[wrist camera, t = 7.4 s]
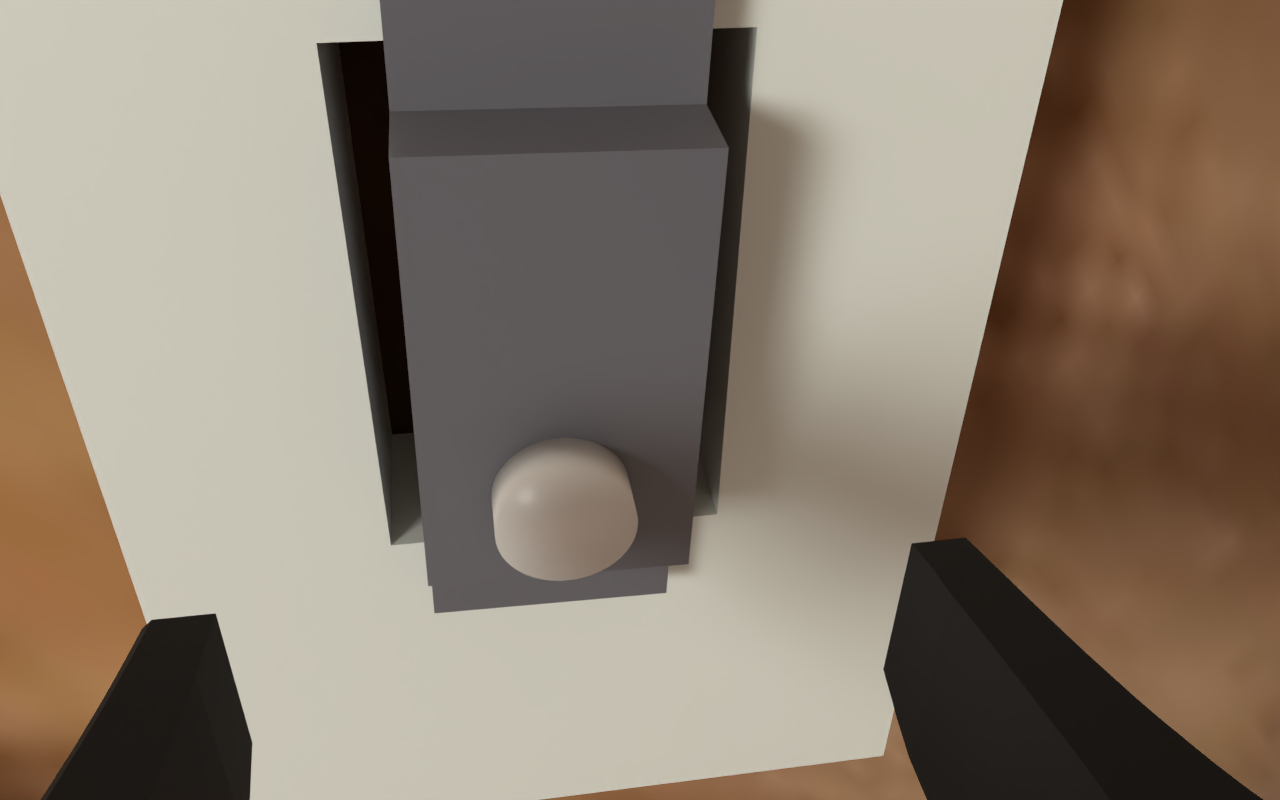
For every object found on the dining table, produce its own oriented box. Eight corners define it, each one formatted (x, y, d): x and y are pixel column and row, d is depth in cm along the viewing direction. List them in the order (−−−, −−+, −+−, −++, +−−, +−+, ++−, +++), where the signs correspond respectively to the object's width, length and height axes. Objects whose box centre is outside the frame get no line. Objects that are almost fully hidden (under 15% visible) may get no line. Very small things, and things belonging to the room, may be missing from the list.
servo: (633, 457, 23) (689, 688, 19) (430, 471, 23) (437, 713, 18) (664, -134, 17) (762, 2, 12) (379, -137, 16) (371, 6, 12)
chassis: (842, 650, 28) (883, 755, 26) (236, 719, 26) (220, 840, 24) (1026, -330, 16) (1134, -301, 14) (-74, -338, 14) (-171, -307, 12)
